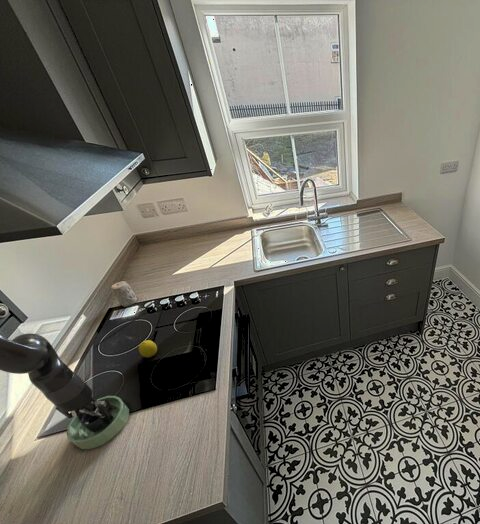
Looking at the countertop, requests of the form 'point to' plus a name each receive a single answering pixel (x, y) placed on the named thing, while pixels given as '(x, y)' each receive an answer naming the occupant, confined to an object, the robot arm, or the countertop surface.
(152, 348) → the lemon
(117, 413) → the big bowl
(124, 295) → the carving
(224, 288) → the countertop surface
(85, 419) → the small bowl
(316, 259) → the countertop surface
